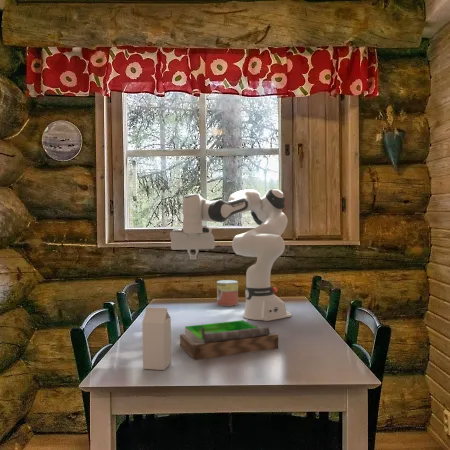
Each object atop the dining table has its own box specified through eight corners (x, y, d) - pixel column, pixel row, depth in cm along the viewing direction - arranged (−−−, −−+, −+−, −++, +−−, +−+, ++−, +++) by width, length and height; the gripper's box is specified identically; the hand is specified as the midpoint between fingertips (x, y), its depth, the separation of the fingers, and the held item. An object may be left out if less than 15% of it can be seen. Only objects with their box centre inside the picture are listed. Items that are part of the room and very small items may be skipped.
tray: (206, 357, 158) (206, 343, 158) (185, 339, 181) (185, 326, 181) (271, 348, 168) (271, 335, 167) (243, 332, 191) (243, 320, 191)
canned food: (213, 303, 248) (213, 280, 248) (232, 301, 253) (232, 279, 253) (222, 307, 238) (222, 283, 238) (241, 305, 243) (241, 282, 242)
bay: (256, 335, 183) (256, 309, 183) (279, 348, 166) (278, 319, 166) (180, 345, 171) (179, 317, 171) (195, 360, 154) (195, 329, 154)
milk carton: (164, 370, 144) (163, 310, 144) (142, 369, 146) (141, 309, 145) (171, 363, 151) (170, 305, 151) (150, 362, 153) (150, 305, 152)
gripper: (169, 230, 207) (170, 260, 208) (214, 229, 209) (215, 259, 210) (169, 229, 214) (170, 258, 214) (213, 228, 215) (214, 257, 216)
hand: (193, 259), depth 212 cm, fingers closed
